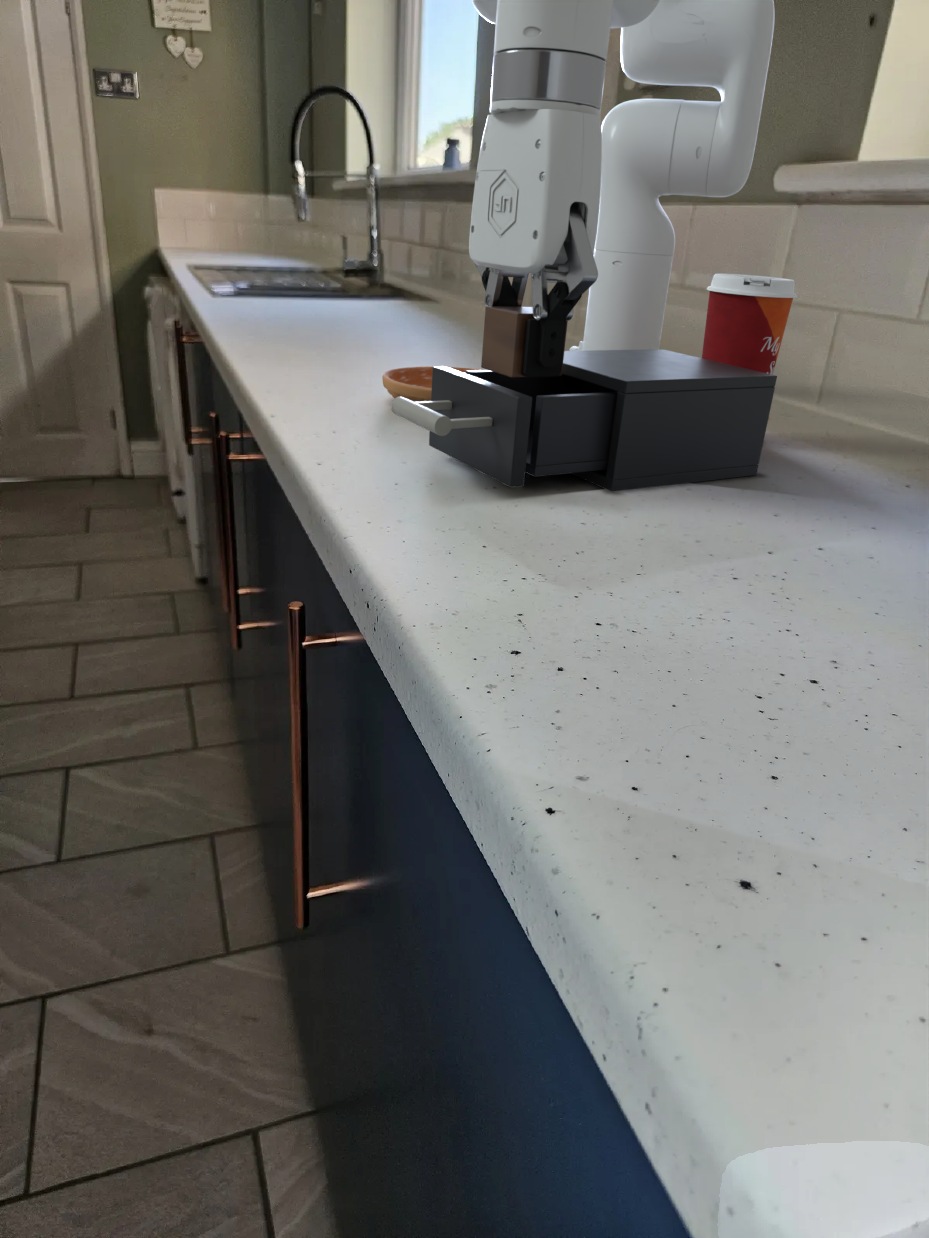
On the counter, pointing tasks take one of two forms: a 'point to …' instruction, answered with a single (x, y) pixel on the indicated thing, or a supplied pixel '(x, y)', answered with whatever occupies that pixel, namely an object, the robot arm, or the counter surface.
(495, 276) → the robot arm
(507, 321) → the block
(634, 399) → the dark grey drawer cabinet
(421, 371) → the saucer
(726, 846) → the counter surface
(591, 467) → the drawer
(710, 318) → the coffee cup
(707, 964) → the counter surface
